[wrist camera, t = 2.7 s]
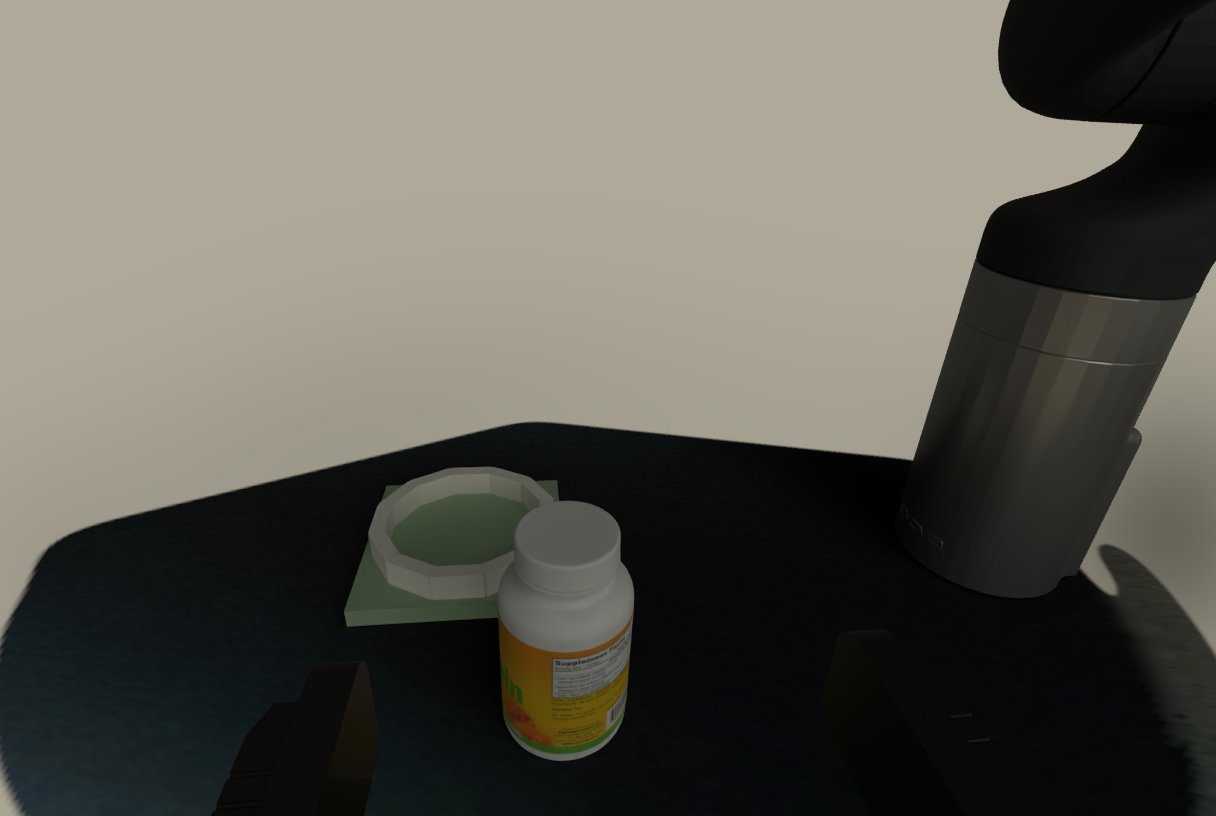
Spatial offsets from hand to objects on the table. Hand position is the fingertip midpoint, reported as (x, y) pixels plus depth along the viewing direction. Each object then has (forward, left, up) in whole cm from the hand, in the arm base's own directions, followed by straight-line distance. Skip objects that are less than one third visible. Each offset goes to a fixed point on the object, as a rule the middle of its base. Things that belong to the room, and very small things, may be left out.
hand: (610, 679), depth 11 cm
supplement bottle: (0, -11, -16) cm, 19 cm away
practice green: (+5, -22, -15) cm, 28 cm away
